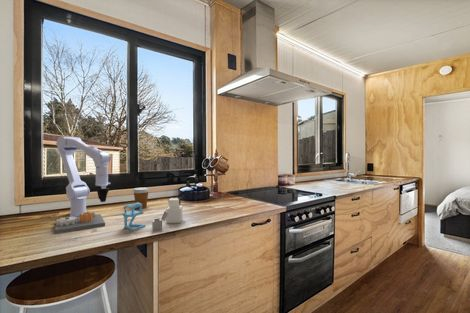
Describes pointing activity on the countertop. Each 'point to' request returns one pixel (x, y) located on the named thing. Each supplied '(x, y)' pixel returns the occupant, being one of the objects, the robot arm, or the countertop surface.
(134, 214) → the chair
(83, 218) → the orange gear
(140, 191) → the disposable coffee cup
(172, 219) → the medicine bottle
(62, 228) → the gear board
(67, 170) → the robot arm
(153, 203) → the countertop surface
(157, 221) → the lighter
